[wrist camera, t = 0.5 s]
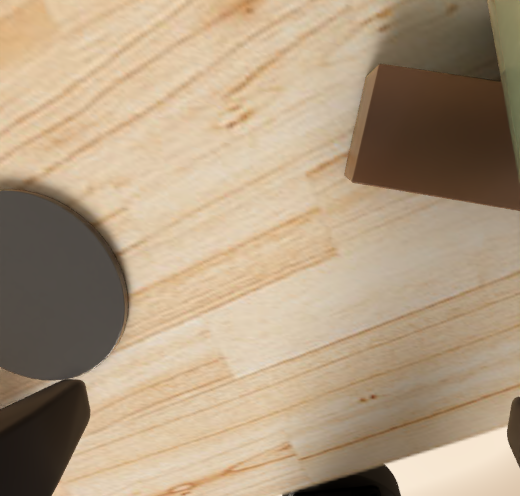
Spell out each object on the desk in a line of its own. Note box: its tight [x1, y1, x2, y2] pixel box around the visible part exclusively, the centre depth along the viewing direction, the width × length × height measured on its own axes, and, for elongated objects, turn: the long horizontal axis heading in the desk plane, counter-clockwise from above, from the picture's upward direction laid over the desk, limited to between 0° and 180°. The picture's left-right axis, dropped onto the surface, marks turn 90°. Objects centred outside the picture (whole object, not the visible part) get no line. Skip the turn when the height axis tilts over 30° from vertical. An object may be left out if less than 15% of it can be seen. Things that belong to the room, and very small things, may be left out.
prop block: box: [344, 64, 520, 211], centre depth 15 cm, size 4×12×3 cm, turn 81°
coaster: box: [0, 189, 128, 380], centre depth 21 cm, size 12×12×1 cm
